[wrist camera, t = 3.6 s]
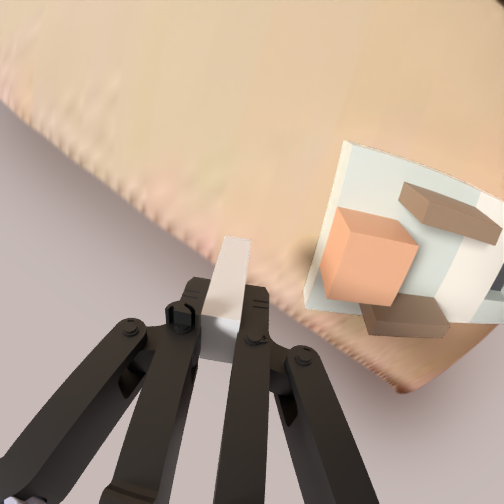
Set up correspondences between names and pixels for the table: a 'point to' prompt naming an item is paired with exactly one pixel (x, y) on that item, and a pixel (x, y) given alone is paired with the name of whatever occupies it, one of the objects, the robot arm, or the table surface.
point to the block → (366, 258)
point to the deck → (420, 244)
